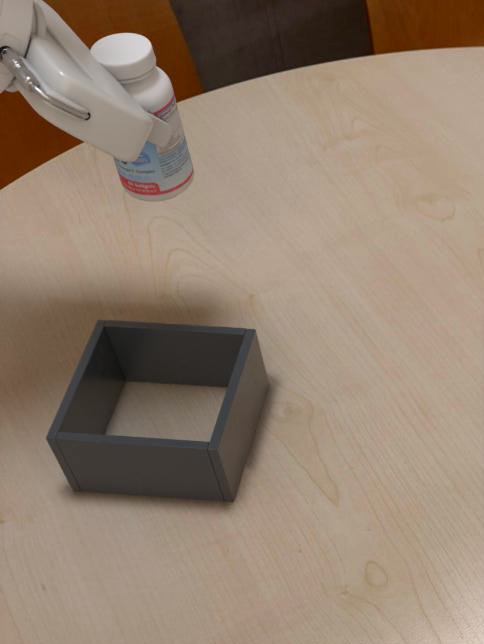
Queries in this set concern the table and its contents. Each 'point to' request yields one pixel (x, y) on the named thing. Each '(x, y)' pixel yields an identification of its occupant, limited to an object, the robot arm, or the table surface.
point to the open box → (169, 368)
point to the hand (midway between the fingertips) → (146, 112)
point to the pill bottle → (151, 94)
